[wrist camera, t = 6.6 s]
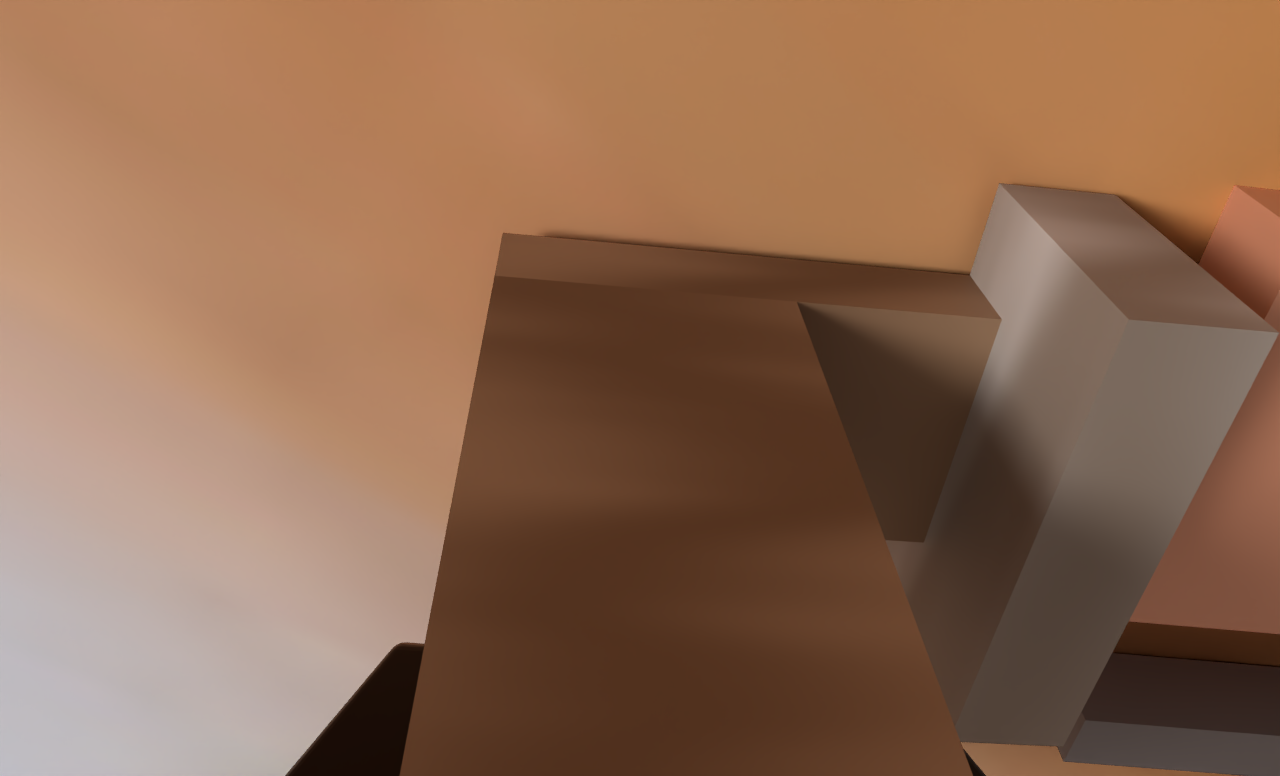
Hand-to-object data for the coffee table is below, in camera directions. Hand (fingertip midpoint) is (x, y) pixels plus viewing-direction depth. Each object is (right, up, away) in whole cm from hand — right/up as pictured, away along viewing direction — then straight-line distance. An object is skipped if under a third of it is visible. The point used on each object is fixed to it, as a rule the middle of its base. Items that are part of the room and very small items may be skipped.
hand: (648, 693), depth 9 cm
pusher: (+2, +3, +5) cm, 6 cm away
